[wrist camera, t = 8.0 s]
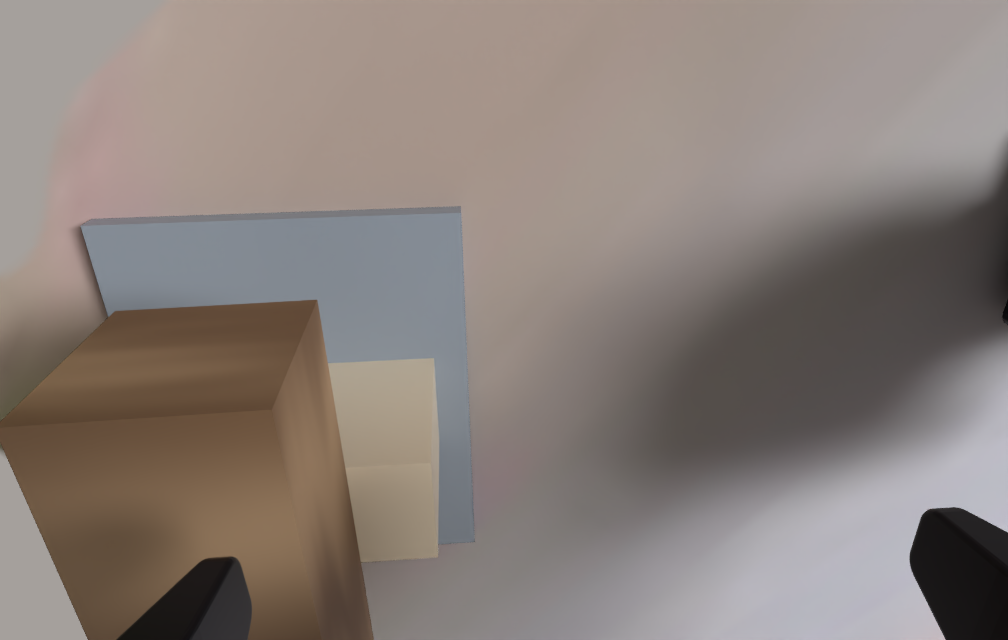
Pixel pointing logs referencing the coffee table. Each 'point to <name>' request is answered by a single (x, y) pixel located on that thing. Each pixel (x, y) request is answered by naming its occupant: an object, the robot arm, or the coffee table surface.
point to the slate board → (340, 339)
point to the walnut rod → (195, 467)
